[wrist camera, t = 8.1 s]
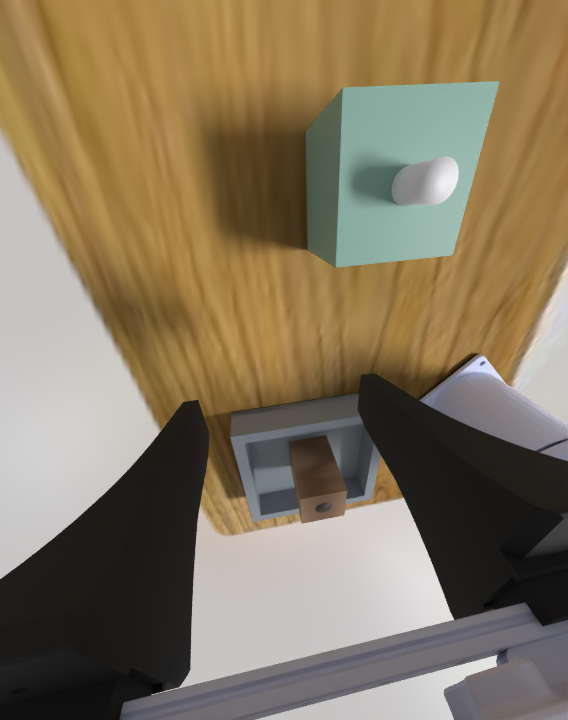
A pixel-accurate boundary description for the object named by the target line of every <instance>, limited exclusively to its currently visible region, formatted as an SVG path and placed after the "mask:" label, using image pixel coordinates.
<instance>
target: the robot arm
mask: <svg viewBox="0 0 568 720" xmlns="http://www.w3.org/2000/svg"><path fill="white" fill-rule="evenodd" d="M357 410H358V412H359V415H360V417H361V419H362V422H363V424H364V426H365V429H366V430H367V432H368V434H369V436H370V437H371V439H372V441H373V443H374V444H375V446H376V448H377V449H378V451H379V453H380V454H381V456H382V458H383V459H384V461H385V463H386V464H387V466H388V468H389V470H390V471H391V473H392V475H393V477H394V478H395V480H396V482H397V484H398V486H399V488H400V490H401V493H402V495H403V497H404V499H405V501H406V503H407V505H408V508H409V510H410V512H411V514H412V517H413V519H414V521H415V523H416V526H417V528H418V530H419V533H420V535H421V537H422V540H423V542H424V544H425V547H426V549H427V552H428V554H429V557H430V559H431V562H432V564H433V567H434V569H435V572H436V575H437V577H438V580H439V582H440V585H441V587H442V590H443V593H444V595H445V598H446V601H447V604H448V606H449V609H450V612H451V614H452V616H453V618H454V620H452V621H449V622H445V623H441V624H436V625H433V626H428V627H424V628H421V629H416V630H412V631H409V632H404V633H401V634H396V635H392V636H388V637H384V638H381V639H377V640H372V641H368V642H364V643H360V644H356V645H352V646H348V647H344V648H340V649H336V650H332V651H328V652H324V653H320V654H316V655H312V656H308V657H304V658H300V659H296V660H292V661H288V662H284V663H280V664H276V665H272V666H268V667H264V668H260V669H256V670H252V671H248V672H244V673H240V674H236V675H232V676H228V677H224V678H220V679H216V680H212V681H208V682H203V683H200V684H195V685H192V686H187V687H183V688H179V689H175V690H172V691H167V692H163V691H166V690H170V689H174V688H177V687H180V685H181V684H182V682H183V681H184V680H185V678H186V677H187V675H188V673H189V671H190V658H191V619H192V595H193V574H194V560H195V559H194V558H195V545H196V532H197V520H198V513H199V507H200V501H201V495H202V490H203V484H204V478H205V472H206V466H207V460H208V452H209V431H208V428H207V425H206V422H205V419H204V416H203V413H202V410H201V407H200V404H199V401H198V400H194V401H187V402H183V403H182V404H181V406H180V407H179V408H178V410H177V411H176V412H175V414H174V415H173V416H172V418H171V419H170V420H169V422H168V423H167V424H166V426H165V427H164V428H163V429H162V431H161V432H160V433H159V435H158V436H157V437H156V438H155V440H154V441H153V442H152V443H151V445H150V446H149V447H148V448H147V449H146V450H145V452H144V453H143V454H142V455H141V456H140V457H139V459H138V460H137V461H136V462H135V463H134V464H133V465H132V467H131V468H130V469H129V470H128V471H127V472H126V473H125V474H124V475H123V476H122V477H121V478H120V479H119V480H118V481H117V482H116V483H115V484H114V485H113V486H112V487H111V488H110V489H109V490H108V491H107V492H106V493H105V494H104V495H103V496H102V497H100V498H99V499H98V500H97V501H96V502H95V503H94V504H93V505H92V506H91V507H89V508H88V509H87V510H86V511H85V512H84V513H83V514H82V515H81V516H79V517H78V518H77V519H76V520H75V521H74V522H73V523H71V524H70V525H69V526H68V527H67V528H65V529H64V530H63V531H62V532H61V533H59V534H58V535H57V536H56V537H55V538H54V539H52V540H51V541H50V542H48V543H47V544H46V545H45V546H44V547H42V548H41V549H40V550H38V551H37V552H36V553H35V554H33V555H32V556H31V557H29V558H28V559H27V560H26V561H24V562H23V563H22V564H20V565H19V566H18V567H16V568H15V569H14V570H12V571H11V572H10V573H8V574H7V575H6V576H4V577H3V578H1V579H0V720H255V719H259V718H262V717H266V716H270V715H274V714H277V713H281V712H285V711H289V710H292V709H296V708H300V707H303V706H307V705H311V704H315V703H319V702H322V701H326V700H330V699H334V698H337V697H341V696H345V695H348V694H352V693H356V692H359V691H364V690H367V689H371V688H375V687H379V686H382V685H386V684H390V683H393V682H397V681H401V680H405V679H408V678H412V677H416V676H419V675H424V674H427V673H431V672H435V671H438V670H442V669H446V668H450V667H453V666H457V665H461V664H465V663H468V662H472V661H476V660H480V659H483V658H487V657H490V656H495V655H498V656H497V660H496V662H497V667H494V668H491V669H488V670H485V671H482V672H479V673H475V674H473V675H470V676H467V677H466V678H465V679H464V680H463V681H461V682H459V683H457V684H455V685H453V686H450V687H448V688H446V689H444V696H445V698H446V700H447V703H448V705H449V707H450V710H451V712H452V715H453V717H454V720H568V424H566V423H565V422H563V421H561V420H560V419H558V418H557V417H555V416H554V415H552V414H551V413H549V412H548V411H546V410H545V409H543V408H542V407H540V406H539V405H537V404H536V403H534V402H533V401H531V400H530V399H528V398H527V397H525V396H523V395H522V394H521V393H519V392H518V391H516V390H515V389H513V388H512V387H510V386H509V385H507V384H506V383H505V382H504V381H503V380H502V378H501V377H500V376H499V374H498V373H497V372H496V371H495V369H494V368H493V367H492V365H491V364H490V363H489V362H488V360H487V359H486V358H485V357H484V356H483V355H480V354H479V355H477V356H475V357H474V358H472V359H471V360H470V361H469V362H467V363H466V364H465V365H464V366H462V367H461V368H460V369H459V370H457V371H456V372H455V373H453V374H452V375H451V376H450V377H448V378H447V379H446V380H445V381H443V382H442V383H441V384H439V385H438V386H437V387H436V388H434V389H433V390H432V391H431V392H429V393H428V394H427V395H425V396H424V397H423V398H422V399H420V400H418V399H416V398H414V397H413V396H411V395H409V394H408V393H406V392H404V391H403V390H401V389H399V388H398V387H396V386H395V385H393V384H391V383H390V382H388V381H386V380H385V379H383V378H381V377H380V376H378V375H376V374H374V373H373V374H367V375H361V382H360V390H359V399H358V408H357ZM159 692H163V693H159ZM155 693H159V694H156V695H151V694H155Z"/></svg>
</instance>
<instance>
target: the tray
mask: <svg viewBox="0 0 568 720" xmlns="http://www.w3.org/2000/svg"><path fill="white" fill-rule="evenodd" d="M358 399H359V393H354V394H348V395H341V396H335V397H328V398H322V399H315V400H309V401H302V402H296V403H289V404H283V405H276V406H270V407H263V408H257V409H250V410H244V411H237V412H231V433H230V438H231V442H232V446H233V449H234V453H235V457H236V461H237V464H238V468H239V472H240V475H241V479H242V483H243V486H244V490H245V494H246V498H247V501H248V505H249V509H250V512H251V516H252V520H253V522H256V521H261V520H266V519H271V518H277V517H282V516H287V515H292V514H297V513H300V512H299V507H298V502H297V497H296V491H295V486H294V481H293V476H292V471H291V465H290V453H289V441H295V440H301V439H307V438H313V437H319V436H325V435H326V436H327V438H328V441H329V444H330V446H331V449H332V452H333V454H334V457H335V460H336V462H337V465H338V468H339V470H340V473H341V475H342V478H343V481H344V483H345V486H346V489H347V496H346V504H349V503H354V502H359V501H364V500H369V499H372V495H373V490H374V486H375V481H376V476H377V472H378V467H379V462H380V457H381V454H380V453H379V451H378V449H377V448H376V446H375V444H374V443H373V441H372V439H371V437H370V436H369V434H368V432H367V430H366V429H365V426H364V424H363V422H362V419H361V417H360V415H359V412H358V410H357V408H358Z"/></svg>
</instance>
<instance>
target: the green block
mask: <svg viewBox="0 0 568 720" xmlns="http://www.w3.org/2000/svg"><path fill="white" fill-rule="evenodd" d="M499 82H500V81H496V82H471V83H447V84H422V85H398V86H373V87H348V88H342V89H341V90H340V92H339V93H338V94H337V95H336V96H335V98H334V99H333V100H332V101H331V102H330V104H329V105H328V106H327V107H326V108H325V109H324V111H323V112H322V113H321V114H320V115H319V117H318V118H317V119H316V120H315V121H314V123H313V124H312V125H311V126H310V127H309V129H308V130H307V131H306V132H305V139H306V194H307V249H308V251H310V252H311V253H313V254H315V255H316V256H318V257H320V258H321V259H323V260H324V261H326V262H328V263H329V264H331V265H333V266H334V267H345V266H355V265H364V264H373V263H383V262H392V261H401V260H411V259H420V258H430V257H439V256H448V255H453V252H454V248H455V245H456V241H457V237H458V234H459V230H460V226H461V222H462V219H463V215H464V211H465V208H466V204H467V200H468V196H469V193H470V189H471V185H472V182H473V178H474V174H475V171H476V167H477V163H478V159H479V156H480V152H481V148H482V145H483V141H484V137H485V133H486V130H487V126H488V122H489V119H490V115H491V111H492V108H493V104H494V100H495V96H496V93H497V89H498V85H499Z"/></svg>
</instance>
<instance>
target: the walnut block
mask: <svg viewBox="0 0 568 720" xmlns="http://www.w3.org/2000/svg"><path fill="white" fill-rule="evenodd" d="M289 453H290V465H291V471H292V476H293V481H294V486H295V491H296V497H297V502H298V507H299V512H300V517H301V522H302V523H307V522H312V521H317V520H322V519H327V518H332V517H338V516H343V515H344V513H345V505H346V496H347V489H346V486H345V483H344V481H343V478H342V475H341V473H340V470H339V468H338V465H337V462H336V460H335V457H334V454H333V452H332V449H331V446H330V444H329V441H328V438H327V436H326V435H325V436H319V437H313V438H307V439H301V440H295V441H289Z"/></svg>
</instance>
